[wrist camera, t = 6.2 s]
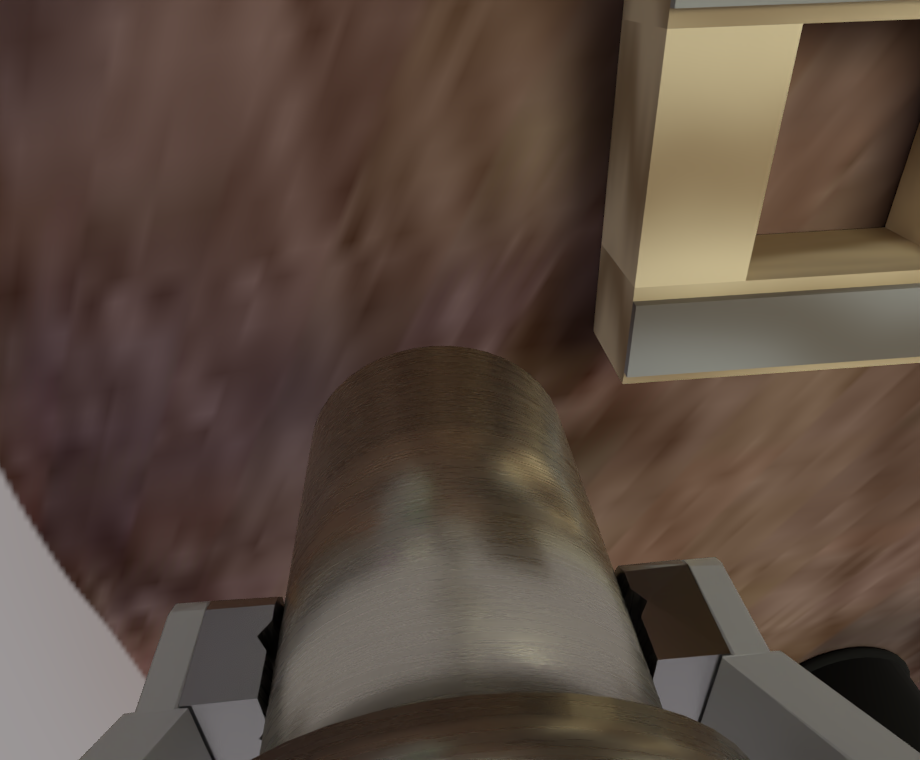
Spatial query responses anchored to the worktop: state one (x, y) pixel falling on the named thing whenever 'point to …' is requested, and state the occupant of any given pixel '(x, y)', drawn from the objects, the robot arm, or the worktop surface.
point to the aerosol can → (874, 687)
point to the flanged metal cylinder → (457, 585)
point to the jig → (737, 208)
